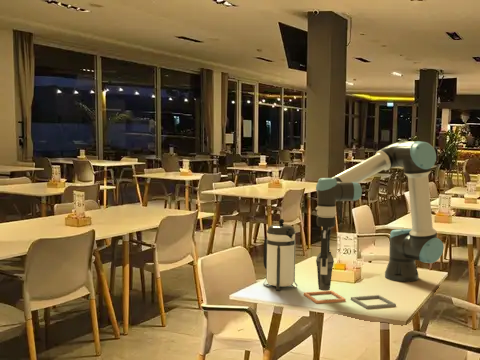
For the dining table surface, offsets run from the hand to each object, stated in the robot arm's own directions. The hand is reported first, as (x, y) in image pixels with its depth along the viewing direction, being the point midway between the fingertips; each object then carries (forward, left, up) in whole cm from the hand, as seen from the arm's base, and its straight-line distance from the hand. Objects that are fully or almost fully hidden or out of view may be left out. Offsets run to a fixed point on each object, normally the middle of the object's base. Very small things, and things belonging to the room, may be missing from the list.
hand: (324, 272), depth 229 cm
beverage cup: (0, 0, -7) cm, 7 cm away
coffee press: (+12, -22, -11) cm, 27 cm away
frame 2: (-16, +11, -11) cm, 22 cm away
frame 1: (0, 0, -11) cm, 11 cm away
